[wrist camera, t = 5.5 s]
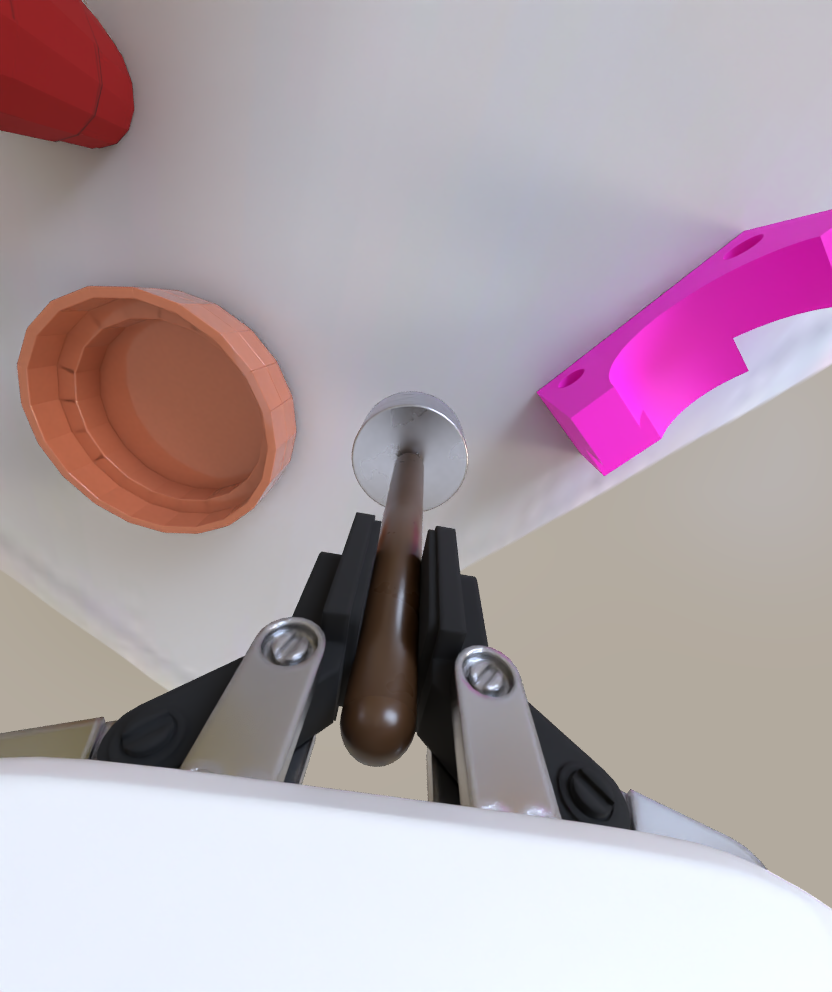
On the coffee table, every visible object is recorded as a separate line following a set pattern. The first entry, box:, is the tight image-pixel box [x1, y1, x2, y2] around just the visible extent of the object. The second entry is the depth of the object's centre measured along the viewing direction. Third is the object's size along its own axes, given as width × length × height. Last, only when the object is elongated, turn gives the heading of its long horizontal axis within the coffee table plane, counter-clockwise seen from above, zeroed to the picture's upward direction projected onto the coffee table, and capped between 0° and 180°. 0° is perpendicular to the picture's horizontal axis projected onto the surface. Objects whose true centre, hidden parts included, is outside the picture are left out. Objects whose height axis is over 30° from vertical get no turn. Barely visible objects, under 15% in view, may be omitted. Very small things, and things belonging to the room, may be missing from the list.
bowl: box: [17, 286, 296, 534], centre depth 27 cm, size 16×16×5 cm
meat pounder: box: [340, 392, 468, 767], centre depth 14 cm, size 6×6×16 cm
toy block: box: [537, 209, 832, 476], centre depth 24 cm, size 15×6×8 cm, turn 131°
